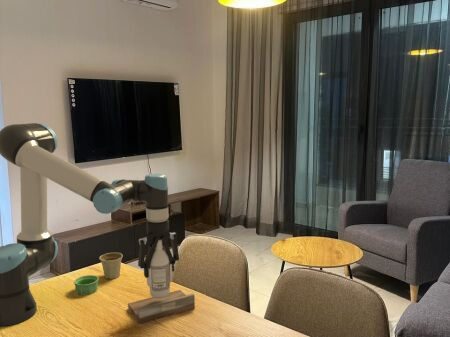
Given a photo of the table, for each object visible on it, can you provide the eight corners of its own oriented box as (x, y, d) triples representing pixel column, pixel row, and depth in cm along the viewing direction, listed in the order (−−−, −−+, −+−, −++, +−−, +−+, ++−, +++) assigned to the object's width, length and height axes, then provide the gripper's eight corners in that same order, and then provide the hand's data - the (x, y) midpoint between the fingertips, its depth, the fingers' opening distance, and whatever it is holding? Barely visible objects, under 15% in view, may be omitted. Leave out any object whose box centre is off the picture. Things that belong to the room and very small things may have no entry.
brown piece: (128, 308, 139) (127, 295, 138) (180, 294, 149) (179, 282, 148) (140, 324, 128) (139, 310, 128) (195, 308, 139) (194, 295, 138)
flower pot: (111, 282, 160) (110, 262, 159) (95, 277, 165) (94, 258, 164) (128, 274, 168) (127, 255, 167) (112, 270, 173) (111, 251, 172)
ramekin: (70, 290, 153) (69, 280, 153) (92, 283, 160) (91, 273, 159) (81, 298, 147) (80, 287, 147) (103, 290, 154) (102, 279, 153)
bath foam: (173, 295, 138) (171, 239, 135) (154, 300, 134) (152, 243, 131) (164, 287, 144) (163, 234, 141) (147, 292, 140) (144, 238, 137)
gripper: (179, 213, 143) (180, 273, 147) (125, 221, 133) (128, 285, 136) (188, 217, 137) (190, 280, 140) (132, 226, 127) (135, 294, 130)
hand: (159, 283), depth 138 cm, fingers closed on bath foam, 7 cm apart
